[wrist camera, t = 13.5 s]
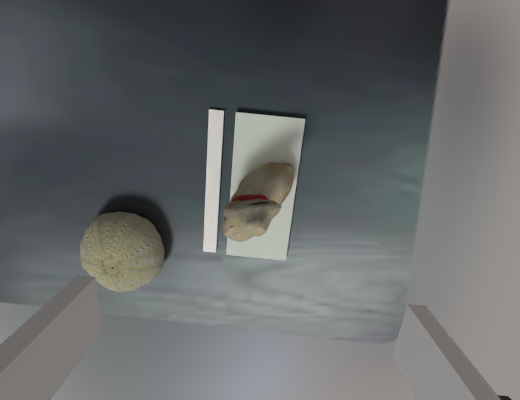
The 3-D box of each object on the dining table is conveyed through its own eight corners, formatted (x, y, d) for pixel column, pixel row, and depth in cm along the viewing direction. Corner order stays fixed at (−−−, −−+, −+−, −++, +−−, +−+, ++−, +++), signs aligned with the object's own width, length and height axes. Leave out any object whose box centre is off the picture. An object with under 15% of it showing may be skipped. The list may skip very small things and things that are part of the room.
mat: (236, 111, 30) (235, 112, 29) (304, 118, 30) (305, 119, 29) (226, 252, 35) (226, 254, 34) (285, 257, 35) (285, 260, 34)
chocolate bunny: (218, 174, 31) (198, 203, 22) (291, 156, 30) (302, 178, 21) (232, 221, 33) (219, 267, 23) (301, 205, 32) (316, 246, 23)
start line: (209, 109, 30) (209, 109, 30) (224, 110, 30) (223, 110, 30) (203, 250, 35) (203, 251, 34) (216, 251, 35) (215, 252, 34)
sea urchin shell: (164, 211, 31) (143, 287, 28) (177, 236, 38) (162, 299, 35) (79, 200, 31) (46, 275, 27) (107, 227, 38) (84, 290, 34)
